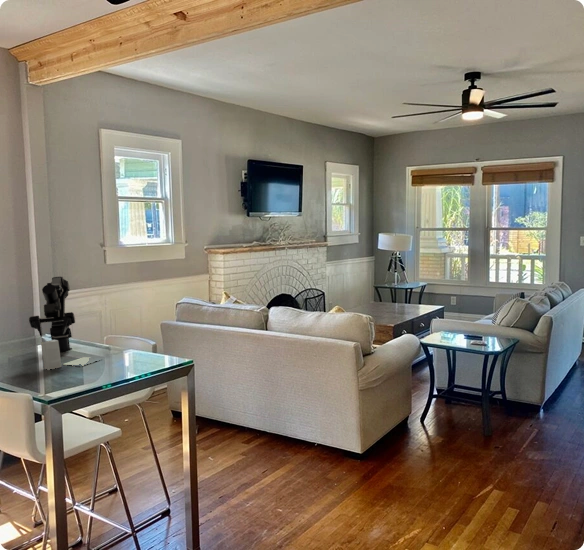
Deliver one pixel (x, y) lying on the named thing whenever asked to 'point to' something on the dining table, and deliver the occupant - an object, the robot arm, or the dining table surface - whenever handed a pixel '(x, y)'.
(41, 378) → the dining table surface
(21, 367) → the dining table surface
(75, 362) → the mat
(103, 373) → the dining table surface
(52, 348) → the skincare box
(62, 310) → the robot arm
